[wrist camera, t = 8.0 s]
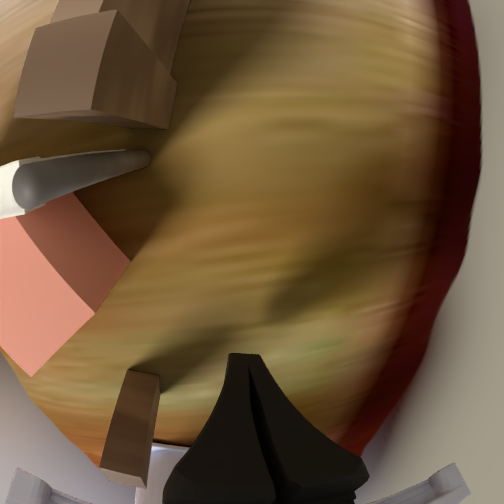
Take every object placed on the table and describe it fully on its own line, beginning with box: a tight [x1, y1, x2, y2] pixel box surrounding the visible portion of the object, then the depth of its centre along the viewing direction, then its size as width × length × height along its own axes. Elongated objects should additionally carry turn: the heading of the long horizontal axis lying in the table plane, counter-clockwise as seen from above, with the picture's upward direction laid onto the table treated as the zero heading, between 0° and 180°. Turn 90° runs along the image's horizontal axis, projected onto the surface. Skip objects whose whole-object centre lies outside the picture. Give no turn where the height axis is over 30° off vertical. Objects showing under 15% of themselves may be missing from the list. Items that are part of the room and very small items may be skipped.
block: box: [0, 192, 131, 377], centre depth 10 cm, size 7×5×4 cm
